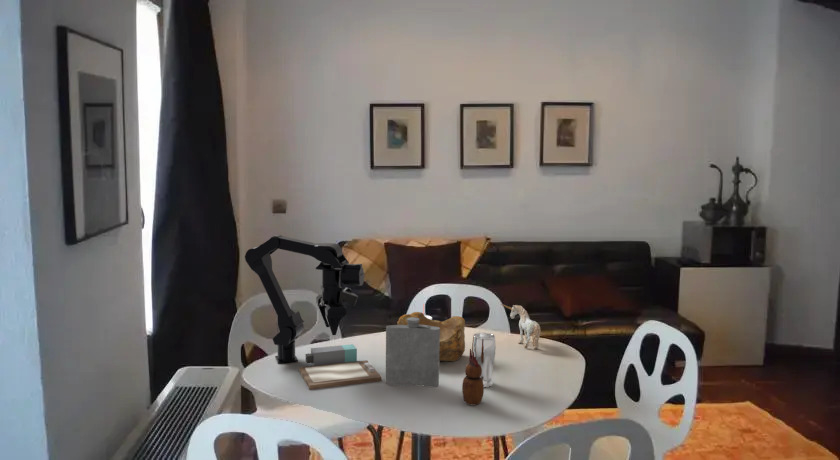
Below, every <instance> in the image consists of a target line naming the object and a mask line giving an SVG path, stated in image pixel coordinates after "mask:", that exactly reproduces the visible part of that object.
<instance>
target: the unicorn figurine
mask: <svg viewBox="0 0 840 460" xmlns="http://www.w3.org/2000/svg"><path fill="white" fill-rule="evenodd" d="M500 305H501V306H502V307H505V309H506V308H507V309H509V310H511V311H510V314H509V318H511V319H512V320H513V319H515V316H516V315H519V318H520V319H519V322H518V326H519V331H520V333H519V335H520V338H519V340H518V344H521V345H523V344H524V345H523V346H524V349H528V346H529V344H530V343H529V341H531V339H532V347H533V349H534V350H538V349H539V348H540V345H539V340H540V336H541V326H540V324H539V323H538V322H537V321H535V320H532V319H530V316H529V313H528V311H527V310H526V309H525V308H524V307H523V306H522V305H518V304H515V305H514V304H513V305H512V307H511V306H508V305H505V304H503V303H501V304H500ZM531 336H532V338H531ZM524 339H525V342H524Z"/></svg>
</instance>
